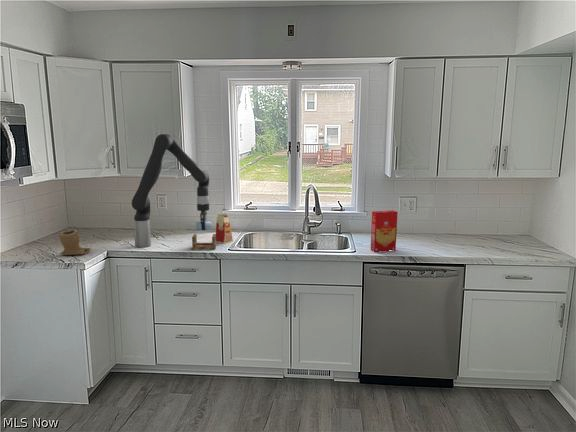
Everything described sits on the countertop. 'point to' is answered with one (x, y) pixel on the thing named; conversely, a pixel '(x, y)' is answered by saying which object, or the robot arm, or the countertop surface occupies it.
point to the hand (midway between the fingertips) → (203, 228)
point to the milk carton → (223, 229)
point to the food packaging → (383, 230)
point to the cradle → (203, 244)
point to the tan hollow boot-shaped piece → (72, 243)
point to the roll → (207, 226)
